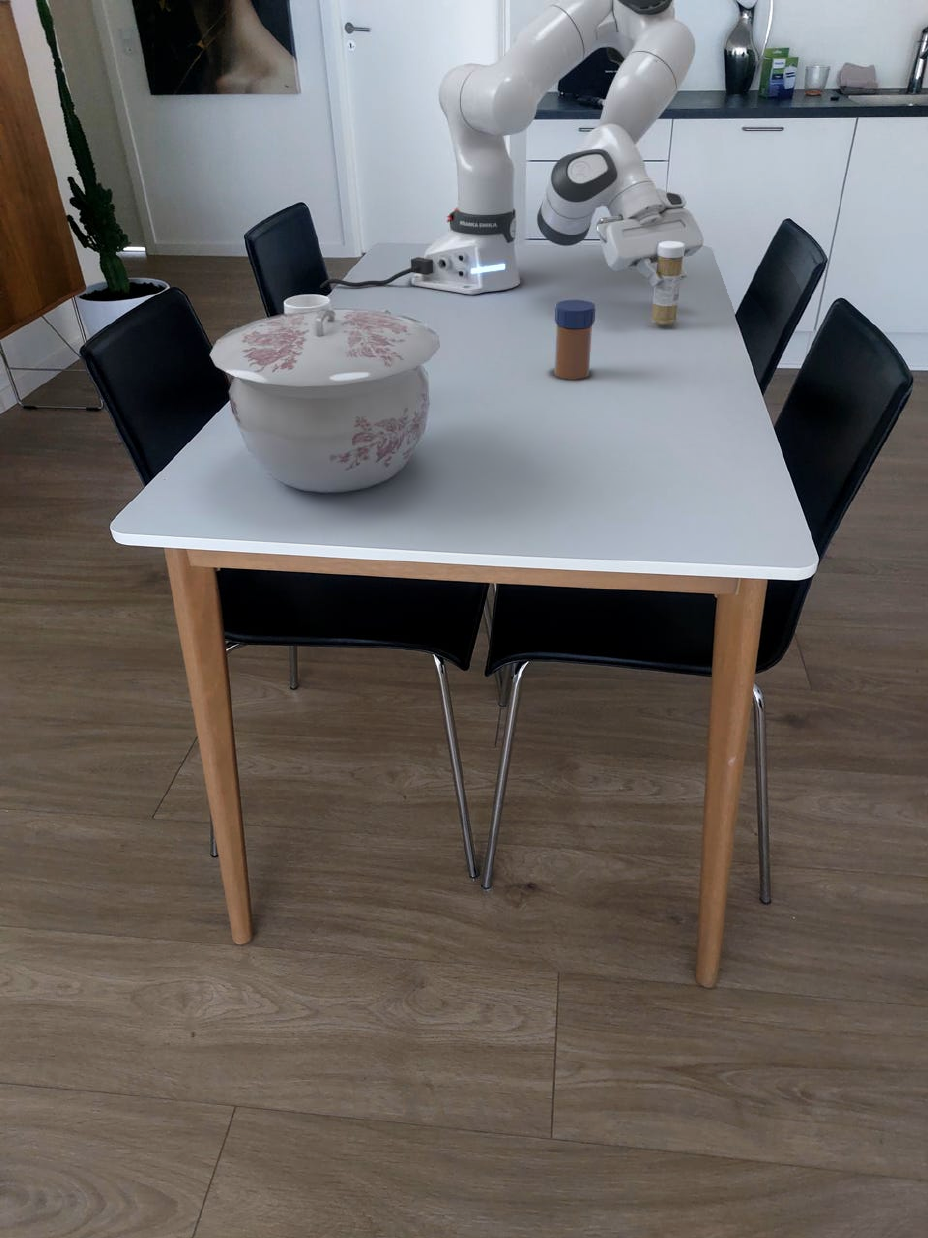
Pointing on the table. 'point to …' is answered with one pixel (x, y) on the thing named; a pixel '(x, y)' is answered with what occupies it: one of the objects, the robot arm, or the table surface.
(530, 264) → the table surface
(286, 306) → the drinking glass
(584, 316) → the lid
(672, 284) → the sprinkles bottle
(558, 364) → the brown cylinder
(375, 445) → the chamber pot
